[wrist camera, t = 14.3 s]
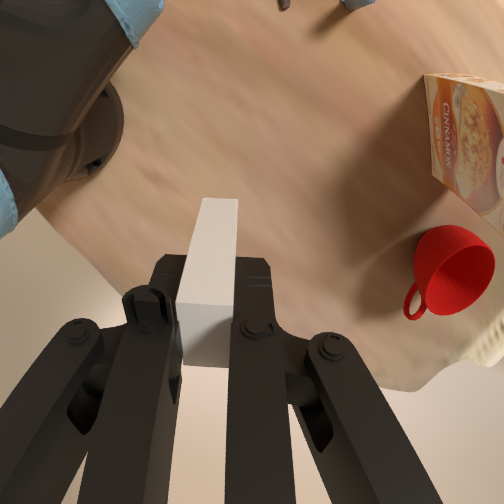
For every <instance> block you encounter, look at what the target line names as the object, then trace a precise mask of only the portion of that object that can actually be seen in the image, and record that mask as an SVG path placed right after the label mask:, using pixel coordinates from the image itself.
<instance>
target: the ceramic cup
mask: <svg viewBox="0 0 504 504" xmlns="http://www.w3.org/2000/svg"><path fill="white" fill-rule="evenodd" d="M494 269H495V258H494V254H493V252H492V250H491V249H490V248H489V247H488V246H487V245H486V244H485V243H484V242H483V241H482V240H481V239H480V238H479V237H478V236H476V235H475V234H474V233H472V232H470V231H469V230H466V229H464V228H462V227H459V226H454V225H443V226H439V227H435V228H432V229H430V230H428V231H427V232H426V233H425V234H424V235H423V236H422V237H421V238H420V240H419V242H418V245H417V248H416V250H415V254H414V259H413V271H414V276H415V282H414V284H413V285H412V287H411V288H410V290H409V292H408V294H407V296H406V298H405V301H404V307H403V311H404V315H405V316H406V317H407V318H408V319H409V320H417V319H419V318H420V317H421V316H422V315H423V314H424V312H425V311H426V309H427V308H428V309H429V310H430V311H431V312H432V313H434V314H436V315H451V314H455V313H457V312H460V311H462V310H464V309H465V308H467V307H468V306H470V305H471V304H473V303H474V302H475V301H476V300H477V299H478V298H479V297H480V296H481V295H482V294H483V292H484V291H485V290H486V288H487V287H488V285H489V283H490V281H491V279H492V276H493V274H494ZM417 289H419V292H420V294H421V305H420V307H419V309H418V311H417V312H416V313H415V314H413V315H410V313H409V307H410V303H411V300H412V298H413V296H414V294H415V292H416V291H417Z"/></svg>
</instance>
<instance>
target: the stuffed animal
mask: <svg viewBox="0 0 504 504" xmlns="http://www.w3.org/2000/svg"><path fill="white" fill-rule="evenodd" d="M279 1H280V5H281V7H282V8H283V9H287V8H289V7H290V0H279Z"/></svg>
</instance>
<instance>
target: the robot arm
mask: <svg viewBox="0 0 504 504" xmlns="http://www.w3.org/2000/svg"><path fill="white" fill-rule="evenodd" d="M164 4H165V0H0V239H1V238H2V237H3V236H5V235H6V234H7V233H9V232H11V231H13V230H14V229H15V227H16V225H17V224H18V223H19V222H20V221H21V220H22V219H23V218H24V217H25V216H26V215H27V214H28V213H29V212H30V211H31V210H32V209H33V208H34V207H35V206H36V205H37V204H38V203H39V202H41V201H42V200H43V199H44V198H45V197H46V196H47V195H48V194H49V193H51V192H52V191H53V190H54V189H55V188H56V187H57V186H58V185H60V184H61V183H62V182H68V181H73V180H79V179H82V178H85V177H87V176H89V175H91V174H93V173H95V172H96V171H97V170H99V169H100V168H101V167H102V166H103V165H104V164H106V163H107V162H108V161H109V159H110V158H111V157H112V156H113V154H114V153H115V151H116V149H117V147H118V145H119V143H120V140H121V137H122V133H123V125H124V115H123V108H122V104H121V100H120V98H119V95H118V93H117V91H116V90H115V88H114V86H113V85H112V84H111V83H110V81H109V80H110V79H111V77H112V76H113V75H114V73H115V72H116V71H117V69H118V68H119V67H120V65H121V64H122V63H123V62H124V60H125V59H126V58H127V56H128V55H129V54H130V53H131V51H132V50H133V49H135V50H136V48H137V47H138V46H139V41H140V39H141V38H142V37H143V35H144V34H145V33H146V32H147V30H148V29H149V28H150V27H151V25H152V24H153V23H154V22H155V20H156V19H157V18H158V17H159V16H160V14H161V13H162V11H163V8H164ZM237 215H238V199H222V198H203V201H202V204H201V208H200V211H199V215H198V218H197V222H196V225H195V229H194V233H193V236H192V240H191V243H190V247H189V251H188V255H173V254H165V255H164V256H163V257H162V258H161V259H160V260H159V261H157V263H156V265H155V268H154V271H153V273H152V276H151V279H150V282H149V284H148V285H141V286H138V287H135V288H132V289H131V290H129V291H128V292H126V293H125V295H124V296H123V298H122V303H123V307H124V311H125V315H126V319H127V323H126V324H123V325H120V326H116V327H110V328H103V329H99V327H98V326H97V324H96V323H95V322H94V321H92V320H90V319H85V318H79V319H74V320H72V321H70V322H67V323H66V324H65V325H64V326H62V328H60V330H59V331H58V332H57V333H56V335H55V336H54V337H53V338H52V340H51V341H50V342H49V343H48V345H47V346H46V347H45V348H44V350H43V351H42V352H41V354H40V355H39V356H38V358H37V359H36V360H35V361H34V363H33V364H32V365H31V367H30V368H29V369H28V371H27V372H26V373H25V375H24V376H23V377H22V379H21V380H20V382H19V383H18V384H17V386H16V387H15V388H14V390H13V391H12V393H11V394H10V395H9V397H8V398H7V400H6V401H5V403H4V404H3V405H2V407H1V408H0V504H61V502H62V500H63V498H64V496H65V494H66V492H67V490H68V488H69V486H70V484H71V482H72V480H73V478H74V477H75V475H76V473H77V471H78V469H79V467H80V465H81V463H82V461H83V459H84V458H85V456H86V454H87V452H88V454H87V458H86V463H85V467H84V472H83V476H82V481H81V486H80V491H79V496H78V501H77V504H167V502H168V491H169V481H170V471H171V461H172V452H173V444H174V436H175V428H176V419H177V412H178V405H179V397H180V390H181V383H182V376H181V363H182V358H183V364H184V365H189V366H203V367H221V368H229V377H228V378H229V379H228V404H227V431H226V433H227V434H226V464H225V504H296V497H295V484H294V471H293V460H292V448H291V436H290V425H289V414H288V404H291V405H292V407H293V409H294V412H295V414H296V417H297V419H298V422H299V424H300V427H301V429H302V431H303V434H304V437H305V439H306V441H307V444H308V446H309V449H310V451H311V454H312V456H313V459H314V461H315V464H316V466H317V469H318V471H319V473H320V476H321V478H322V481H323V483H324V485H325V488H326V490H327V493H328V495H329V498H330V500H331V502H332V504H443V502H442V501H441V499H440V497H439V495H438V493H437V491H436V489H435V487H434V485H433V483H432V481H431V480H430V478H429V476H428V474H427V472H426V470H425V468H424V467H423V465H422V463H421V461H420V459H419V457H418V455H417V454H416V452H415V450H414V448H413V446H412V445H411V443H410V441H409V439H408V437H407V436H406V434H405V432H404V430H403V429H402V427H401V425H400V423H399V421H398V420H397V418H396V416H395V414H394V413H393V411H392V409H391V408H390V406H389V405H388V402H387V401H386V399H385V397H384V395H383V394H382V392H381V390H380V389H379V387H378V385H377V383H376V382H375V380H374V378H373V377H372V375H371V373H370V371H369V370H368V368H367V366H366V365H365V363H364V361H363V360H362V358H361V356H360V355H359V353H358V351H357V350H356V348H355V346H354V345H353V344H352V343H351V342H350V340H349V339H348V338H346V337H344V336H342V335H341V334H337V333H333V332H322V333H320V334H317V335H315V336H314V337H313V338H312V339H311V340H307V339H303V338H299V337H296V336H293V335H291V334H289V333H287V332H285V331H284V330H283V329H282V328H281V327H280V326H279V325H278V323H277V321H276V318H275V310H274V300H273V290H272V280H271V271H270V266H269V265H268V263H267V262H266V261H265V259H264V258H253V257H235V256H236V235H237Z"/></svg>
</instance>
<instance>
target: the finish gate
mask: <svg viewBox="0 0 504 504" xmlns="http://www.w3.org/2000/svg"><path fill="white" fill-rule="evenodd" d="M341 1H342V2H344V5H345V7H346V8H347V9H349V10H356V9H359V8H361V7H364V6H366V5H369V4H372V3H374V2H375V1H376V0H341Z"/></svg>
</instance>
